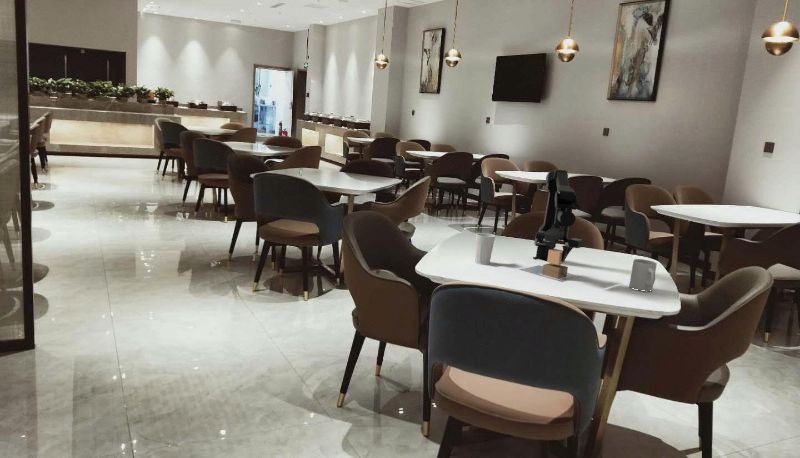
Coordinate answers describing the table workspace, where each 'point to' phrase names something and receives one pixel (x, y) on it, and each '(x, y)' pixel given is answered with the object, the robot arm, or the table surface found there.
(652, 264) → the mug
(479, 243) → the cup
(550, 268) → the base block
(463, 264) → the table surface
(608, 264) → the table surface
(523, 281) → the table surface
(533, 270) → the plate
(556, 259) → the top block
